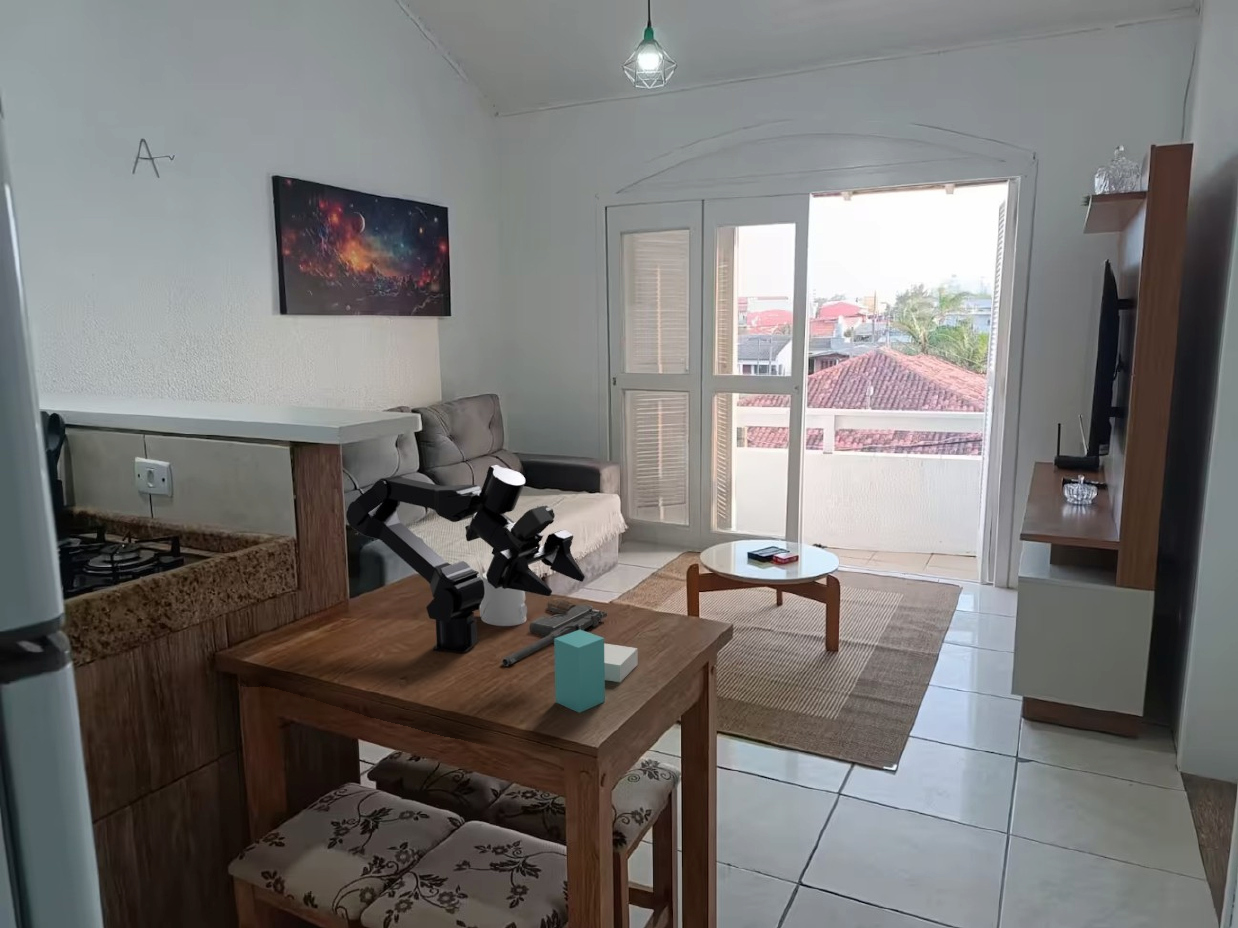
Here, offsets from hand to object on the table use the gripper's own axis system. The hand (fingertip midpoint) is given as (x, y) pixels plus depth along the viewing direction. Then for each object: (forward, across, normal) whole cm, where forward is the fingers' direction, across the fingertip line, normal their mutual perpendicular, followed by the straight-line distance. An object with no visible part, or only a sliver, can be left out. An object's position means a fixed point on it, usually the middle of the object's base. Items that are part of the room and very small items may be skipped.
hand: (567, 586), depth 145 cm
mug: (-18, +16, +28) cm, 37 cm away
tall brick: (+14, -7, +11) cm, 19 cm away
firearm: (-8, +13, +23) cm, 27 cm away
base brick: (+11, +6, +12) cm, 17 cm away
